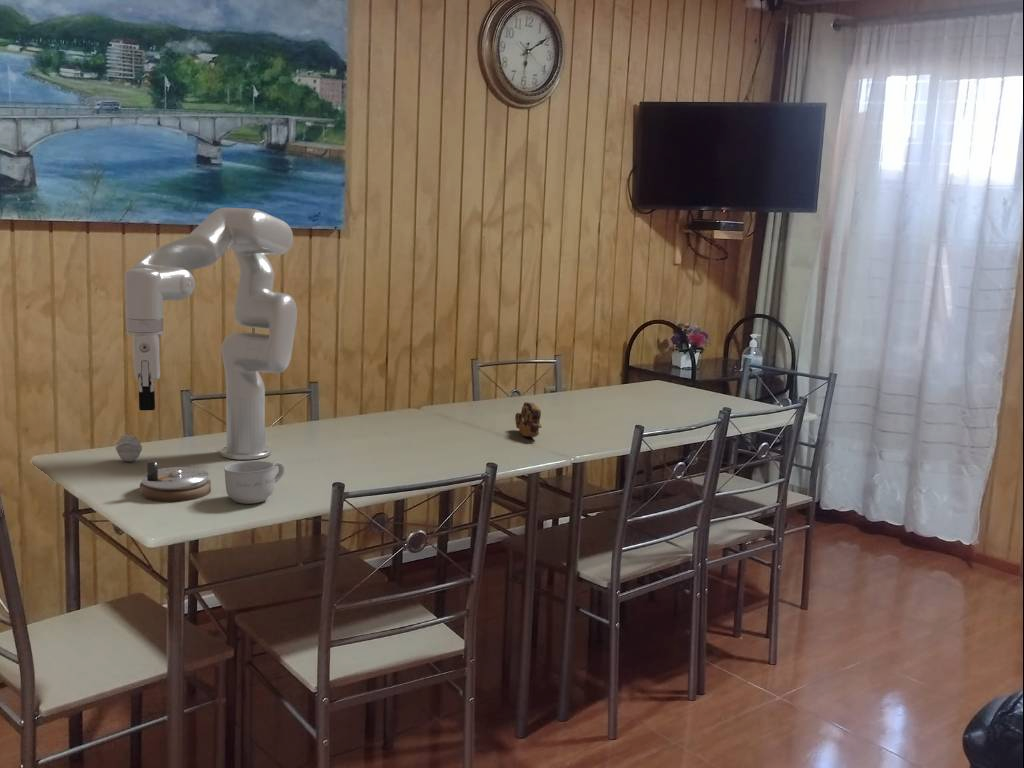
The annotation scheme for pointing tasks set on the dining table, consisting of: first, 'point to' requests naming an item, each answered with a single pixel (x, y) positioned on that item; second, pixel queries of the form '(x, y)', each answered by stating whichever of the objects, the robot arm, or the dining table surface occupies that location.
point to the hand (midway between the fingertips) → (147, 409)
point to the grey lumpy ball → (128, 448)
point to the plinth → (175, 493)
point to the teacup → (251, 480)
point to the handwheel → (173, 478)
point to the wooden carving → (529, 420)
